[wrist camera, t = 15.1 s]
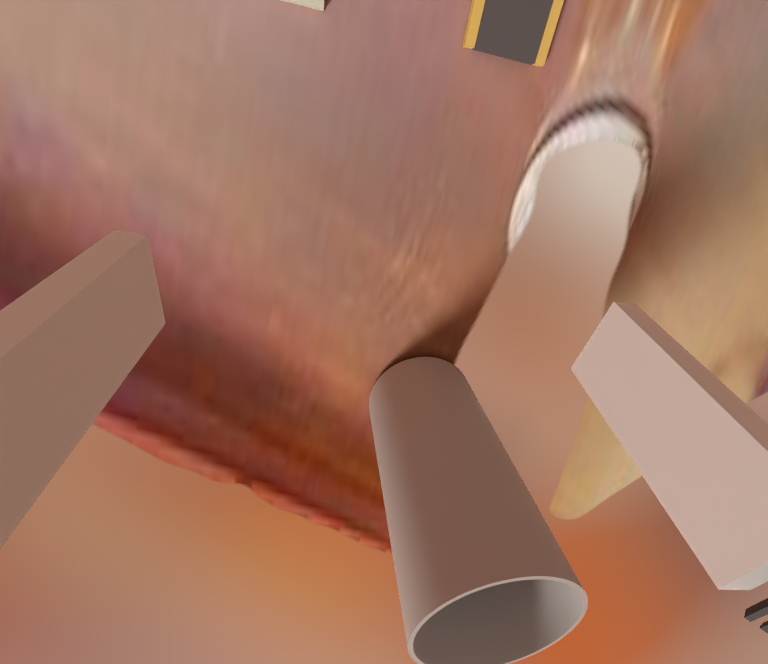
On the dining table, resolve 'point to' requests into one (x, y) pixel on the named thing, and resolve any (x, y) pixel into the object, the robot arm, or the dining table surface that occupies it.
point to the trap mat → (513, 28)
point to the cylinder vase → (464, 526)
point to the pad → (309, 3)
